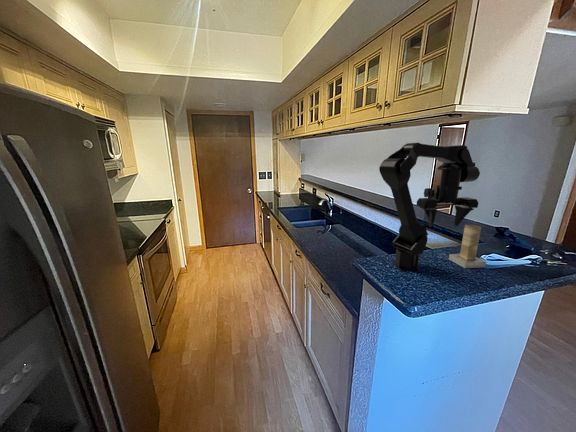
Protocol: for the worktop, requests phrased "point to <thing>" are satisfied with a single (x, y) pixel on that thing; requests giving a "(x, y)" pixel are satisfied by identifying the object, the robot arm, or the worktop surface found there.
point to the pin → (470, 242)
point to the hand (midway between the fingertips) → (443, 226)
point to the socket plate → (467, 264)
